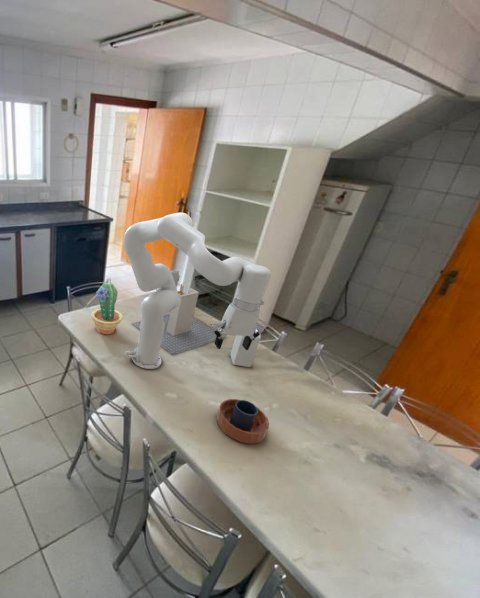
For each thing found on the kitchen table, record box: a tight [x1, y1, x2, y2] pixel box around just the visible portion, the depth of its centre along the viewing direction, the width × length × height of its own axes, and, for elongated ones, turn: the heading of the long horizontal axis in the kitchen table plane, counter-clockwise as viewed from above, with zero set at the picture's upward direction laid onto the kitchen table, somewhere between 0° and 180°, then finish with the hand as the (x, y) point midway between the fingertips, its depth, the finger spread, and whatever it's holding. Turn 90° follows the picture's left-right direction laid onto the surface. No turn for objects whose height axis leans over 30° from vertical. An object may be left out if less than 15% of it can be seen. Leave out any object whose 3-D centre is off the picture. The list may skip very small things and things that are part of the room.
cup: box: [230, 399, 258, 432], centre depth 109 cm, size 7×7×8 cm
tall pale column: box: [170, 269, 181, 288], centre depth 185 cm, size 11×4×22 cm, turn 117°
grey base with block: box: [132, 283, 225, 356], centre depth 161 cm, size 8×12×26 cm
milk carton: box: [229, 328, 262, 368], centre depth 140 cm, size 7×7×19 cm
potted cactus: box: [91, 281, 124, 335], centre depth 158 cm, size 15×15×25 cm
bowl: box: [215, 398, 270, 445], centre depth 110 cm, size 15×15×5 cm
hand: (231, 347), depth 112 cm, fingers open, 9 cm apart
